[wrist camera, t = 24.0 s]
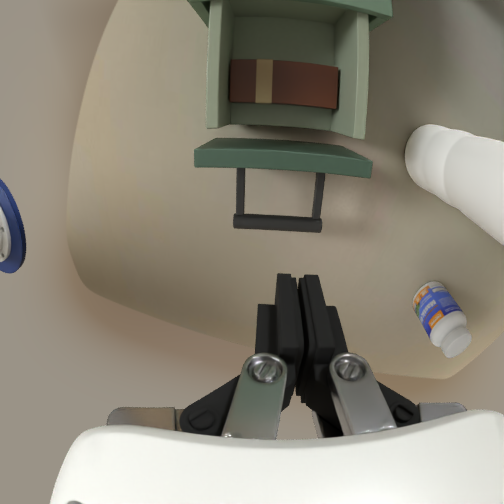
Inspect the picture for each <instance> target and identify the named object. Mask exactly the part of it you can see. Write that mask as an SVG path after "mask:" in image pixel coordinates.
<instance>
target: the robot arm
mask: <svg viewBox="0 0 504 504" xmlns="http://www.w3.org/2000/svg"><path fill="white" fill-rule="evenodd" d="M10 251H11V236H10V230H9V226H8V223H7V220H6V217H5V215H4V212H3V210H2V208H1V207H0V262H2V261H4V260H5V259H7V258H8V256H9V255H10ZM295 387H296V396H301V403H306V406H308V407H309V408H310V409H312V417H313V421H314V424H315V428H316V432H317V436H318V439H302V440H301V439H300V440H276V437H277V431H278V426H279V421H280V414H281V412H282V411H283V410H284V409H285V408H286V407H288V406H289V403H290V400H291V396H292V395H293V392H294V388H295ZM50 504H504V415H502V414H501V413H498V412H495V411H491V410H470V411H467V410H466V408H465V407H464V406H463V405H462V404H460V403H419V404H418V405H415V404H414V403H412V402H411V401H410V400H408V399H406V398H404V397H403V396H401V395H400V394H398V393H396V392H395V391H393V390H391V389H390V388H388V387H386V386H385V385H383V384H381V383H380V382H378V381H377V380H376V379H375V377H374V375H373V372H372V370H371V368H370V366H369V364H368V363H367V361H366V360H365V359H364V358H363V357H361V356H359V355H357V354H354V353H348V349H347V345H346V342H345V338H344V334H343V330H342V327H341V323H340V319H339V316H338V312H337V309H336V307H335V306H326V304H325V300H324V296H323V292H322V288H321V284H320V280H319V277H318V275H304V278H299V283H298V289H297V282H296V278H291V274H279V273H278V274H277V283H276V295H275V305H270V304H258V312H257V329H256V345H255V354H254V355H252V356H250V357H249V358H248V359H247V360H246V361H245V363H244V364H243V367H242V371H241V374H240V375H238V376H237V377H235V378H234V379H232V380H231V381H229V382H227V383H226V384H224V385H223V386H221V387H219V388H218V389H216V390H215V391H213V392H211V393H210V394H208V395H206V396H205V397H203V398H201V399H200V400H198V401H196V402H194V403H193V404H191V405H189V406H188V407H187V408H185V409H175V408H174V407H166V408H165V407H163V408H141V407H139V408H138V407H121V408H117V409H115V410H113V411H112V412H111V414H110V415H109V416H108V419H107V426H100V427H96V428H92V429H89V430H87V431H85V432H83V433H82V434H81V435H79V436H78V437H77V439H76V440H75V441H74V443H73V444H72V446H71V448H70V449H69V451H68V453H67V455H66V458H65V460H64V462H63V464H62V467H61V469H60V472H59V475H58V478H57V481H56V484H55V486H54V490H53V494H52V497H51V501H50Z"/></svg>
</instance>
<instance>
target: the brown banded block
mask: <svg viewBox="0 0 504 504" xmlns="http://www.w3.org/2000/svg"><path fill="white" fill-rule="evenodd" d="M337 90H338V67H334V66H328V65H321V64H313V63H304V62H294V61H281V60H273V59H231V66H230V102H232V103H253V104H265V105H271V104H277V105H292V106H303V107H313V108H322V109H337Z"/></svg>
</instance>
